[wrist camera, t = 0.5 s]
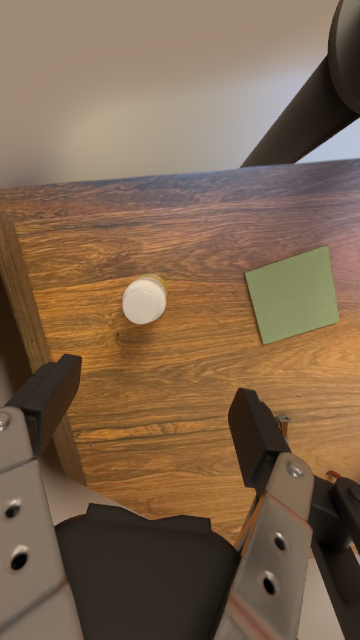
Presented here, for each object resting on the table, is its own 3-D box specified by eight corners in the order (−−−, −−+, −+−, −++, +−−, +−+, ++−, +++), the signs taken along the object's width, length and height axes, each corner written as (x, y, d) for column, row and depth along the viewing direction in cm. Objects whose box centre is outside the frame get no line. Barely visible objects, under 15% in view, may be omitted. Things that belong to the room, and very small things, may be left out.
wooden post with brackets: (272, 456, 44) (282, 469, 40) (270, 412, 45) (280, 419, 41) (281, 457, 44) (293, 469, 40) (280, 412, 45) (291, 419, 41)
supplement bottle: (145, 314, 37) (134, 338, 28) (125, 285, 36) (106, 300, 26) (175, 296, 36) (173, 315, 27) (155, 266, 35) (146, 274, 25)
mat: (244, 273, 35) (244, 273, 35) (326, 244, 34) (328, 245, 33) (262, 344, 38) (263, 345, 38) (338, 320, 37) (339, 321, 37)
